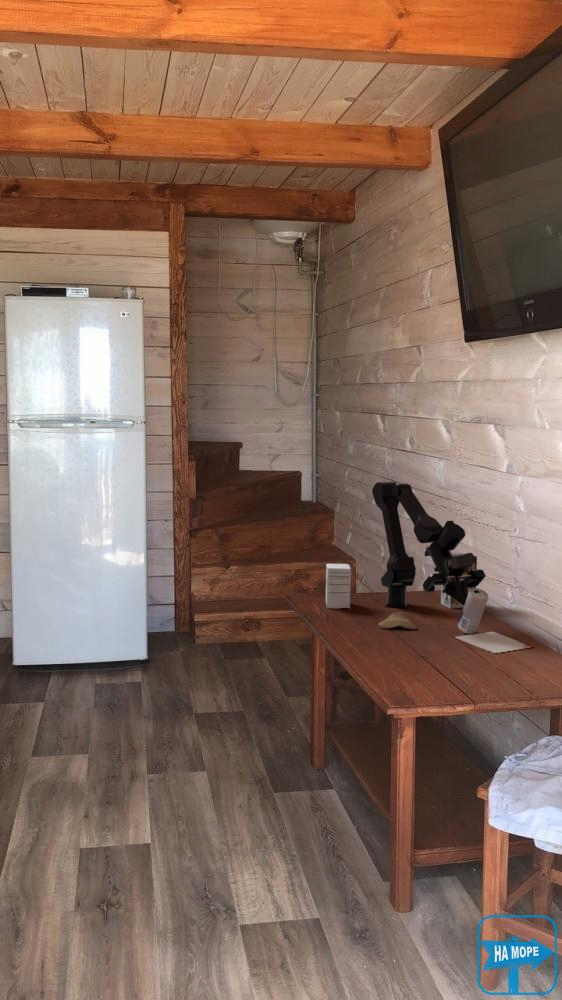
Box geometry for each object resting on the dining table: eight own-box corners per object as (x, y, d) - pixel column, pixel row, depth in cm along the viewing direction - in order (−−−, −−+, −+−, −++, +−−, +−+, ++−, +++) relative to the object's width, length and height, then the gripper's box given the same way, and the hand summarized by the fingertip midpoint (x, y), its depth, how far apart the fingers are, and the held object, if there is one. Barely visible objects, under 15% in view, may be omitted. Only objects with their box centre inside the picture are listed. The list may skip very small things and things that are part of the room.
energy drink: (470, 622, 245) (483, 587, 240) (479, 634, 241) (492, 599, 235) (454, 622, 243) (466, 588, 238) (462, 635, 239) (475, 599, 233)
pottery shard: (417, 635, 244) (414, 618, 253) (417, 622, 243) (414, 605, 252) (379, 636, 245) (377, 619, 254) (379, 623, 243) (376, 606, 252)
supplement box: (325, 602, 274) (326, 563, 272) (348, 603, 274) (349, 563, 272) (326, 608, 266) (327, 567, 265) (350, 608, 266) (351, 568, 265)
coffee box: (465, 602, 278) (467, 552, 276) (475, 607, 271) (478, 556, 270) (439, 604, 275) (441, 553, 273) (449, 608, 269) (452, 557, 267)
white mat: (455, 637, 236) (455, 636, 236) (492, 632, 242) (492, 631, 242) (495, 653, 222) (495, 652, 222) (533, 647, 228) (533, 646, 228)
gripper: (430, 545, 240) (454, 592, 232) (482, 541, 249) (508, 586, 240) (412, 568, 248) (435, 615, 239) (464, 563, 257) (487, 608, 248)
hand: (467, 605), depth 242 cm, fingers closed
